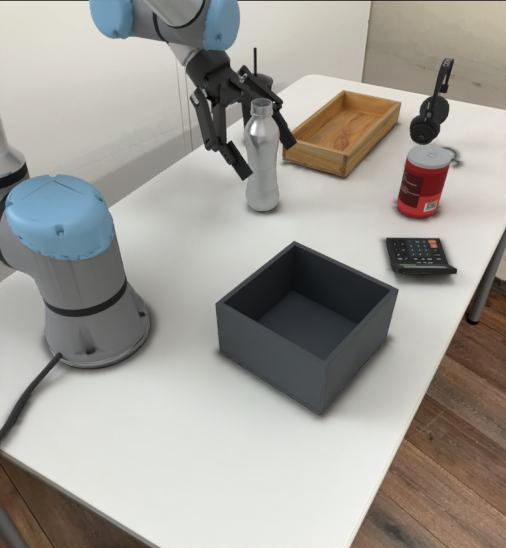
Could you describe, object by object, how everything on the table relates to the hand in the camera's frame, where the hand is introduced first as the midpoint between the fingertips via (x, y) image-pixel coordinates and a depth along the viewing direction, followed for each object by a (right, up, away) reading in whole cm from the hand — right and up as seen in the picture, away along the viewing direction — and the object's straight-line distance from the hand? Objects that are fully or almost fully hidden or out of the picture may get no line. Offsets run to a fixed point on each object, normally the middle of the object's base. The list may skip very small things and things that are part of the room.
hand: (271, 161), depth 93 cm
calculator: (+25, -19, -4) cm, 32 cm away
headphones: (+36, +7, +19) cm, 41 cm away
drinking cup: (-3, +13, +26) cm, 30 cm away
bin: (+4, -33, -17) cm, 38 cm away
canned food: (+29, -7, +7) cm, 30 cm away
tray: (+17, +13, +26) cm, 34 cm away
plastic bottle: (-1, -6, +8) cm, 10 cm away
